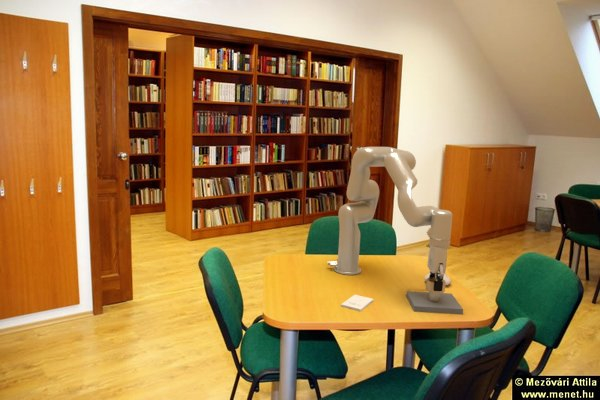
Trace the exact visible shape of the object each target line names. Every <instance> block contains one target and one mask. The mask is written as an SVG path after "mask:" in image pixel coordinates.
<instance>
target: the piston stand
mask: <svg viewBox="0 0 600 400" xmlns="http://www.w3.org/2000/svg"><path fill="white" fill-rule="evenodd" d="M405 292H406V294H405V295H406V298H407V300H408V303H409V304H410V306H411V308H412V310H413V312H417V313H419V312H420V313H437V314H451V315H452V314H454V315H463V314H464V308H463V307H462V305H461V304H460V303H459V301H458V300H457V299H456V297H455V296H454V294H453V293H448V292H447V293H446V292H444V293H440V294H439V293H431V292H429V291H414V290H406V291H405Z"/></svg>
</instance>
